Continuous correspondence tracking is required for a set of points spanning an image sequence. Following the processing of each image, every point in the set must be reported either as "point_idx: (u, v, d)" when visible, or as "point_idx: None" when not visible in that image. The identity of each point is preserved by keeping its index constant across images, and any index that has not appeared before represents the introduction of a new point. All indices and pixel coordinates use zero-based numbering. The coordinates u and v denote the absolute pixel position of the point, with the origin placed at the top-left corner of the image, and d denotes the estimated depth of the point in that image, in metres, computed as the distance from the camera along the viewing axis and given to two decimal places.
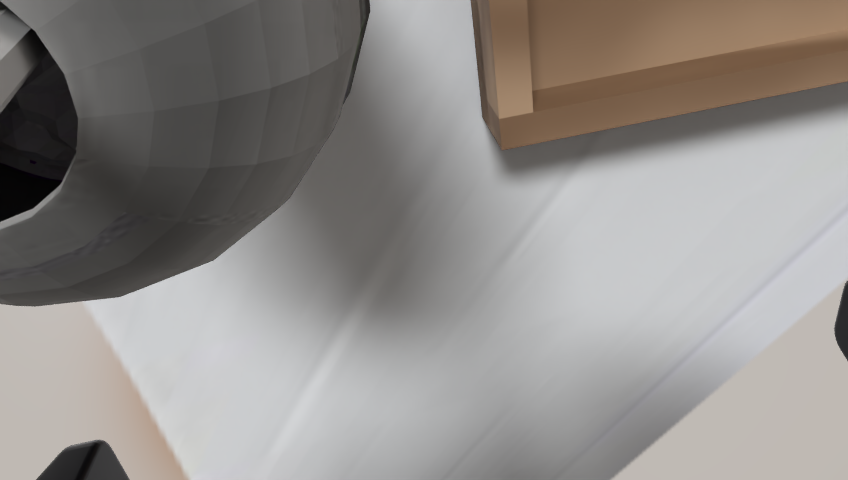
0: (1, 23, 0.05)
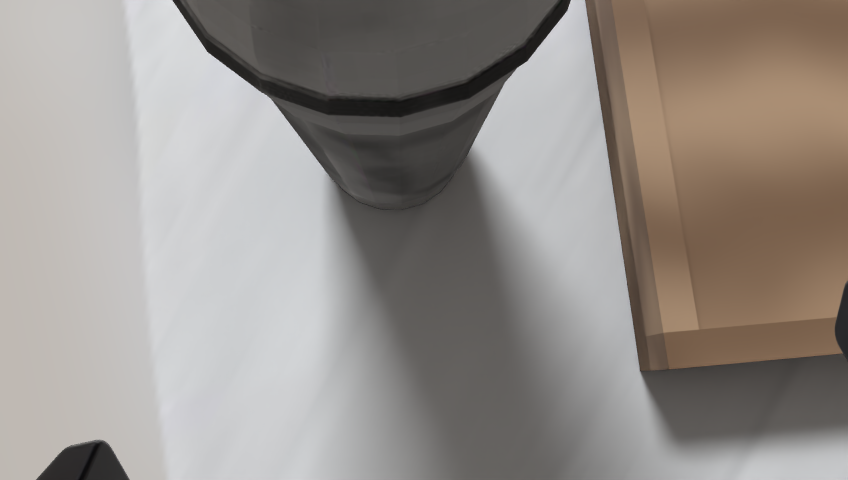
0: None
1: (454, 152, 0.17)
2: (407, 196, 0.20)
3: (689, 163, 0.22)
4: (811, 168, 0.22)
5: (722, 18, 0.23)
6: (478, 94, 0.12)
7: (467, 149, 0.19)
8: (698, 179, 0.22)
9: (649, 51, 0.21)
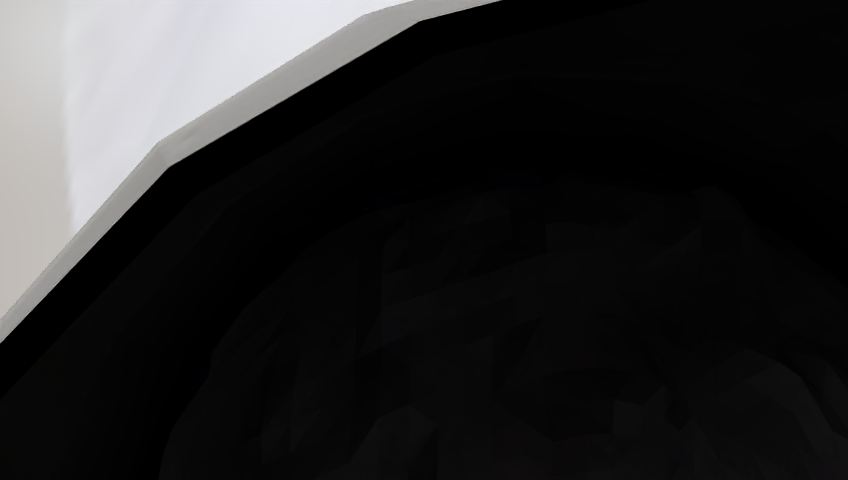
0: None
1: None
2: None
3: None
4: None
5: None
6: None
7: None
8: None
9: None
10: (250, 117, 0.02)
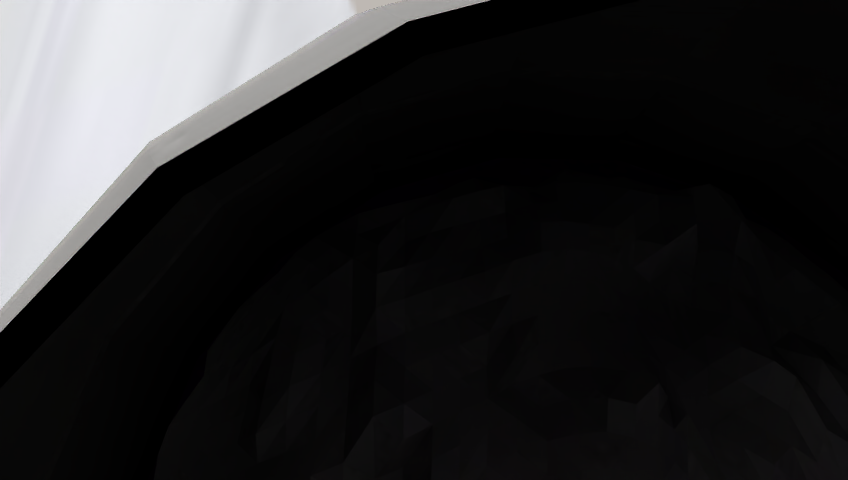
0: None
1: None
2: None
3: None
4: None
5: None
6: None
7: None
8: None
9: None
10: (238, 117, 0.02)
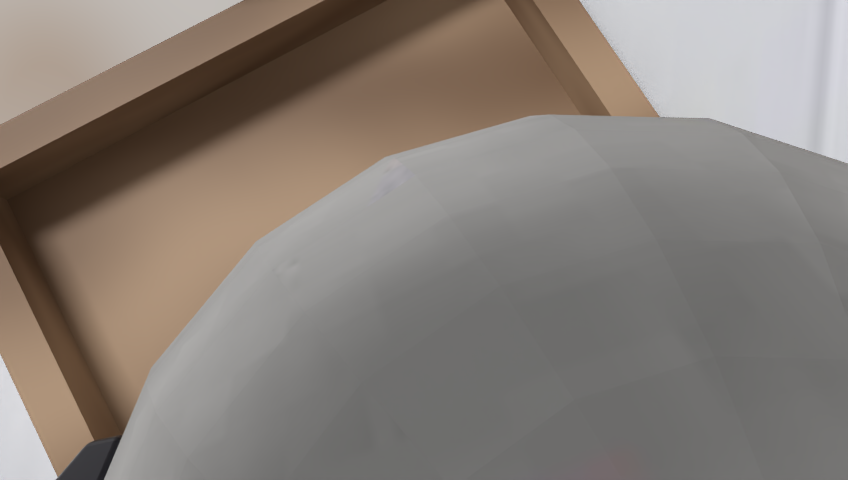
0: None
1: None
2: None
3: None
4: None
5: None
6: None
7: None
8: None
9: None
10: (336, 260, 0.03)
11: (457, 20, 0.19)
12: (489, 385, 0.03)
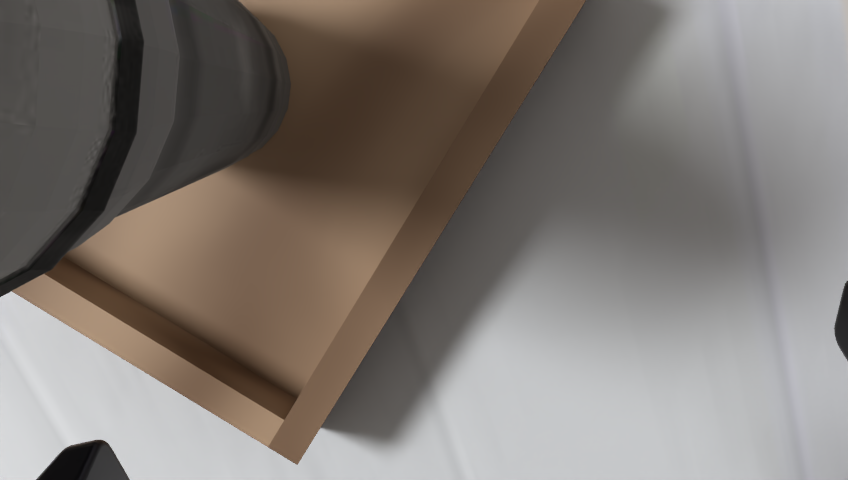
0: None
1: (232, 125, 0.15)
2: (243, 155, 0.18)
3: (171, 279, 0.22)
4: (242, 183, 0.21)
5: None
6: (130, 173, 0.10)
7: (261, 88, 0.17)
8: (189, 284, 0.22)
9: None
10: None
11: None
12: None
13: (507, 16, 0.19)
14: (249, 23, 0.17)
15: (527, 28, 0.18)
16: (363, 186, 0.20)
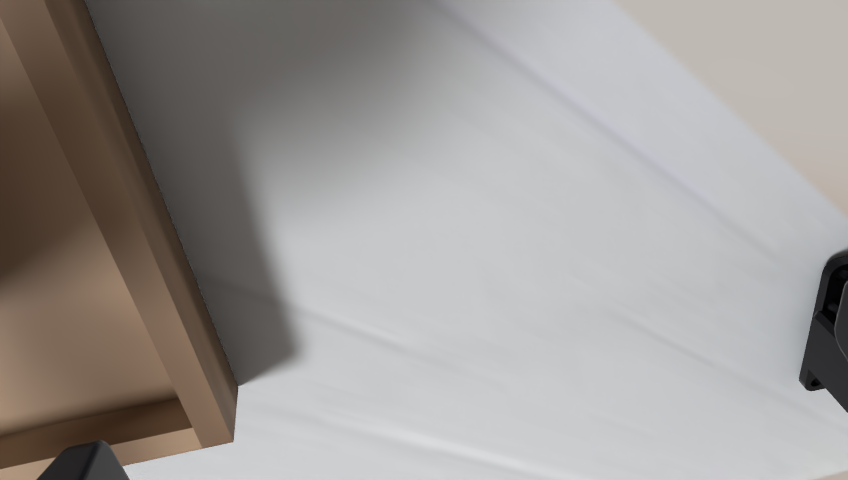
0: None
1: None
2: None
3: (24, 401, 0.23)
4: None
5: None
6: None
7: None
8: (38, 394, 0.22)
9: None
10: None
11: None
12: None
13: None
14: None
15: (11, 27, 0.15)
16: (64, 234, 0.20)
